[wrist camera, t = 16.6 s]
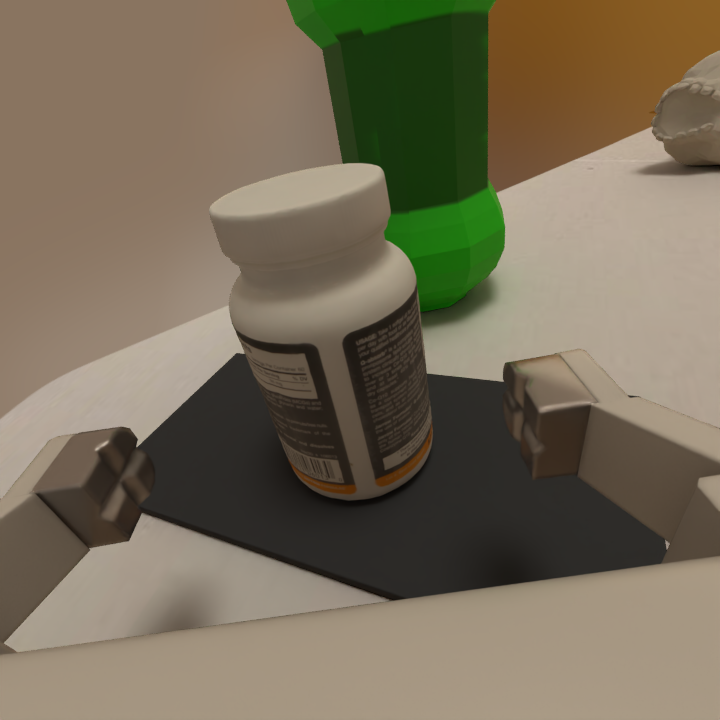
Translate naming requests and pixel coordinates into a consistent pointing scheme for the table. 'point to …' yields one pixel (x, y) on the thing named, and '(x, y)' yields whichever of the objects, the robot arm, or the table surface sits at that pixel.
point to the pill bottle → (330, 326)
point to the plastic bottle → (418, 127)
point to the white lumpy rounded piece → (692, 115)
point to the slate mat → (389, 499)
